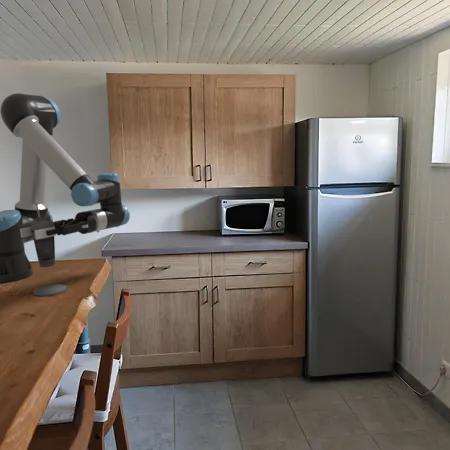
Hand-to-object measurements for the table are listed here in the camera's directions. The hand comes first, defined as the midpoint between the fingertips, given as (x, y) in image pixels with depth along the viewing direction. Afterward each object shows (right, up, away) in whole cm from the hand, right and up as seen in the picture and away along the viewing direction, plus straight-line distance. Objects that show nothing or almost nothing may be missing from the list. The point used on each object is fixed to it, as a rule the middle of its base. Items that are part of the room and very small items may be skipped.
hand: (28, 234), depth 138 cm
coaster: (+4, -18, +7) cm, 20 cm away
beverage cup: (+3, -10, +6) cm, 12 cm away
